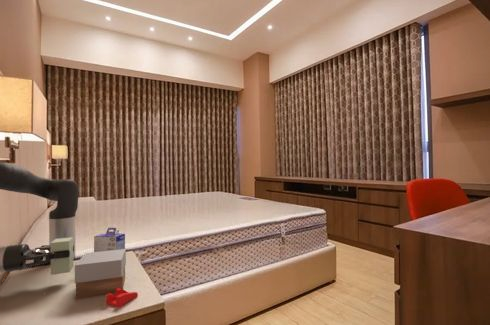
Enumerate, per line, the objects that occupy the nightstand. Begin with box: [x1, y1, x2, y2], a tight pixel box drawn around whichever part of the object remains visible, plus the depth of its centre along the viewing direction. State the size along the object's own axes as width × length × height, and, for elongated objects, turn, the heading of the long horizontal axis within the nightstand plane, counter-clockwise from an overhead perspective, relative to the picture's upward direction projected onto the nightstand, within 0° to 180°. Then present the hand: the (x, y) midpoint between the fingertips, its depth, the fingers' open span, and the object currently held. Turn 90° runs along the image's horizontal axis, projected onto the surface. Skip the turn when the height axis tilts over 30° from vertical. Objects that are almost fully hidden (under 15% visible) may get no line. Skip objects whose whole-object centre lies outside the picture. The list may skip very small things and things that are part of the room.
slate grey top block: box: [74, 248, 127, 284], centre depth 82 cm, size 12×12×5 cm
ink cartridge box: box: [93, 227, 126, 252], centre depth 100 cm, size 10×6×14 cm, turn 78°
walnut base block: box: [75, 267, 126, 301], centre depth 82 cm, size 12×12×5 cm
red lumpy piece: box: [105, 288, 139, 308], centre depth 73 cm, size 6×5×3 cm
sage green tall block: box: [50, 237, 74, 276], centre depth 86 cm, size 5×5×10 cm
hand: (71, 250), depth 87 cm, fingers closed on sage green tall block, 5 cm apart
